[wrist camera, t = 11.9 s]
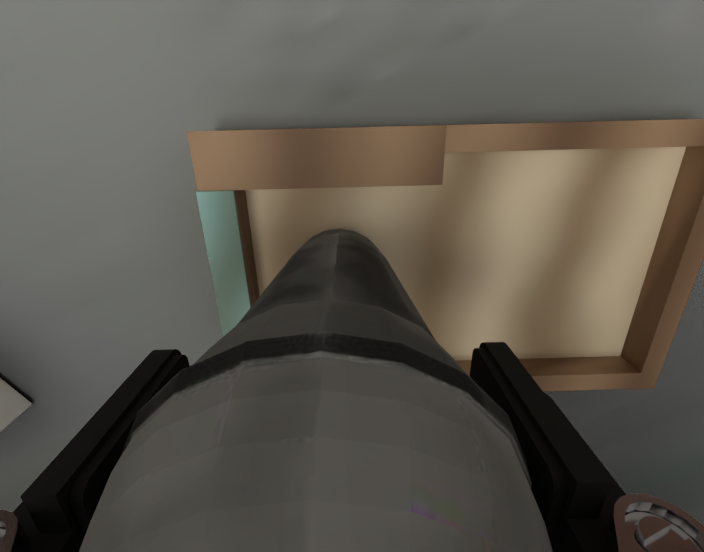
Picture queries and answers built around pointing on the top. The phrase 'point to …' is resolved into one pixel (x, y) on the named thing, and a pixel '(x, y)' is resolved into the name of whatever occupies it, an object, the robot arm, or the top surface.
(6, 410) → the milk carton
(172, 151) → the top surface
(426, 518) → the beverage cup
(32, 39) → the top surface
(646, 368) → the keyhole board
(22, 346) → the top surface
